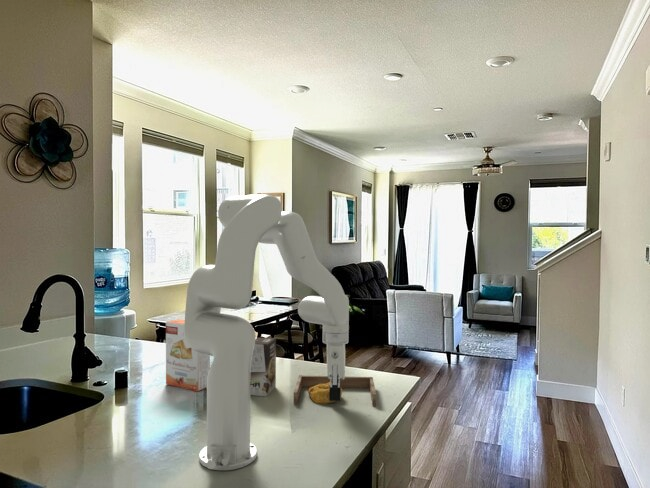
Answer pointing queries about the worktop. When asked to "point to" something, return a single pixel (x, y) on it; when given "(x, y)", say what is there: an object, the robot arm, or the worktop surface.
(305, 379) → the box
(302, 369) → the worktop surface
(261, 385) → the coffee box
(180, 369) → the cracker box
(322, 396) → the bagel
